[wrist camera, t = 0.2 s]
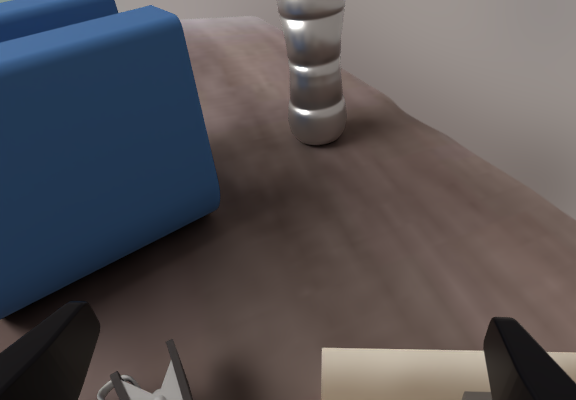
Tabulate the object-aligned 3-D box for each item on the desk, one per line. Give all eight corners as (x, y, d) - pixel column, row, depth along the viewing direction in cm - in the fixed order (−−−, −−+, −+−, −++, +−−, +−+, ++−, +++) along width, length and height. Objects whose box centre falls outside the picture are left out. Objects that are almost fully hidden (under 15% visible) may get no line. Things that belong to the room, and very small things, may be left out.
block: (-25, 225, 41) (-162, 35, 30) (149, 154, 49) (91, -18, 38) (7, 354, 29) (-202, 118, 18) (230, 233, 37) (179, 16, 26)
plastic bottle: (350, 123, 50) (350, -78, 38) (342, 154, 45) (340, -66, 33) (297, 121, 52) (280, -72, 39) (283, 151, 47) (260, -61, 34)
